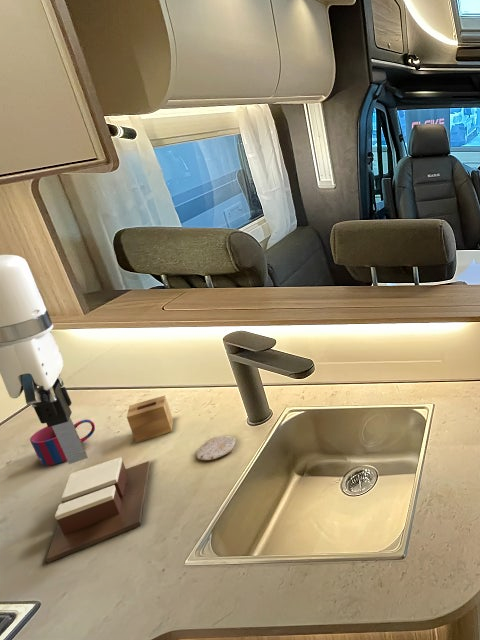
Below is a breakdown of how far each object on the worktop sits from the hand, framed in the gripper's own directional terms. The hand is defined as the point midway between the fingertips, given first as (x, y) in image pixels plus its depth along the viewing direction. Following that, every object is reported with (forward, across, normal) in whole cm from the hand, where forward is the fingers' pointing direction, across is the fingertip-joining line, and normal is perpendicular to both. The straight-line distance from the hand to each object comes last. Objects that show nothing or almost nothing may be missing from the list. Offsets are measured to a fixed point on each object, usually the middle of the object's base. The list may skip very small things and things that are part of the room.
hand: (57, 412), depth 76 cm
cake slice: (+24, +3, 0) cm, 24 cm away
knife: (+12, 0, 0) cm, 12 cm away
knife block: (+25, -22, +7) cm, 34 cm away
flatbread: (+25, -6, +20) cm, 33 cm away
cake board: (+25, 0, +1) cm, 25 cm away
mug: (+25, -25, -9) cm, 36 cm away
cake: (+24, -4, 0) cm, 24 cm away
